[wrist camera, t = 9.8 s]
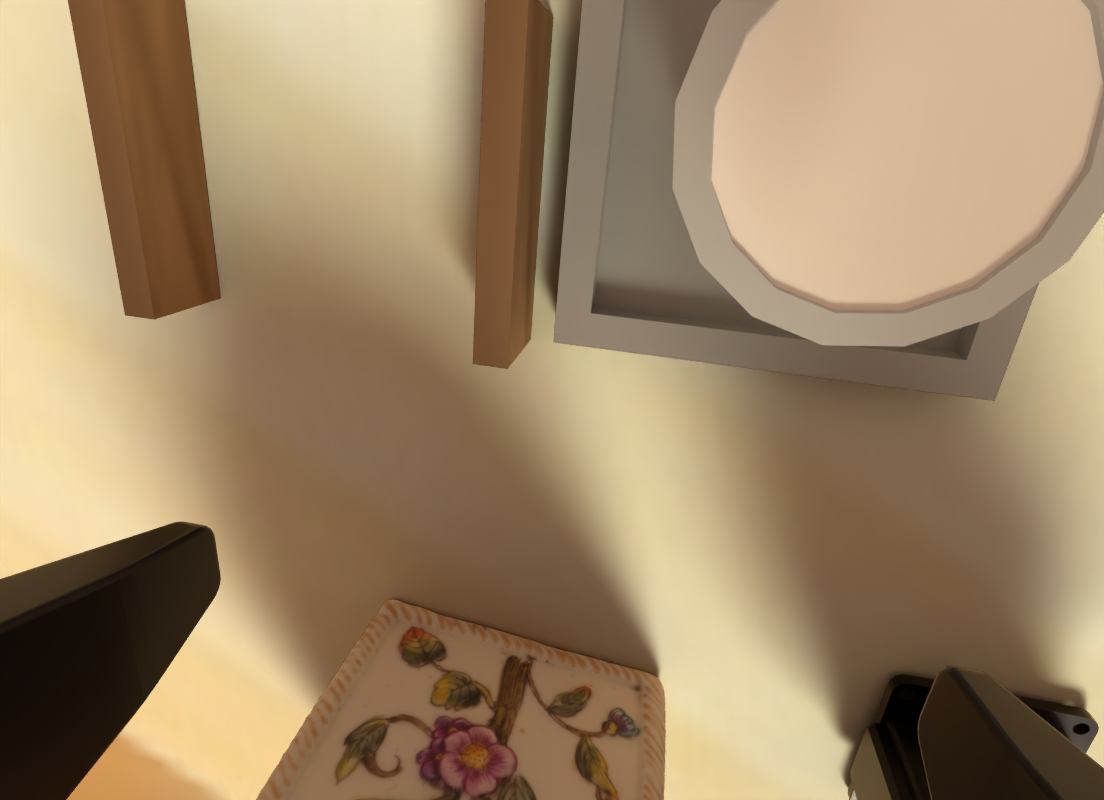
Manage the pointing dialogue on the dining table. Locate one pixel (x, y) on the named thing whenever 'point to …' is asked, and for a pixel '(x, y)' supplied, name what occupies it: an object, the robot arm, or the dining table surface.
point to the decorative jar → (474, 721)
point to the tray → (666, 247)
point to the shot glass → (890, 158)
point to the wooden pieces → (180, 182)
